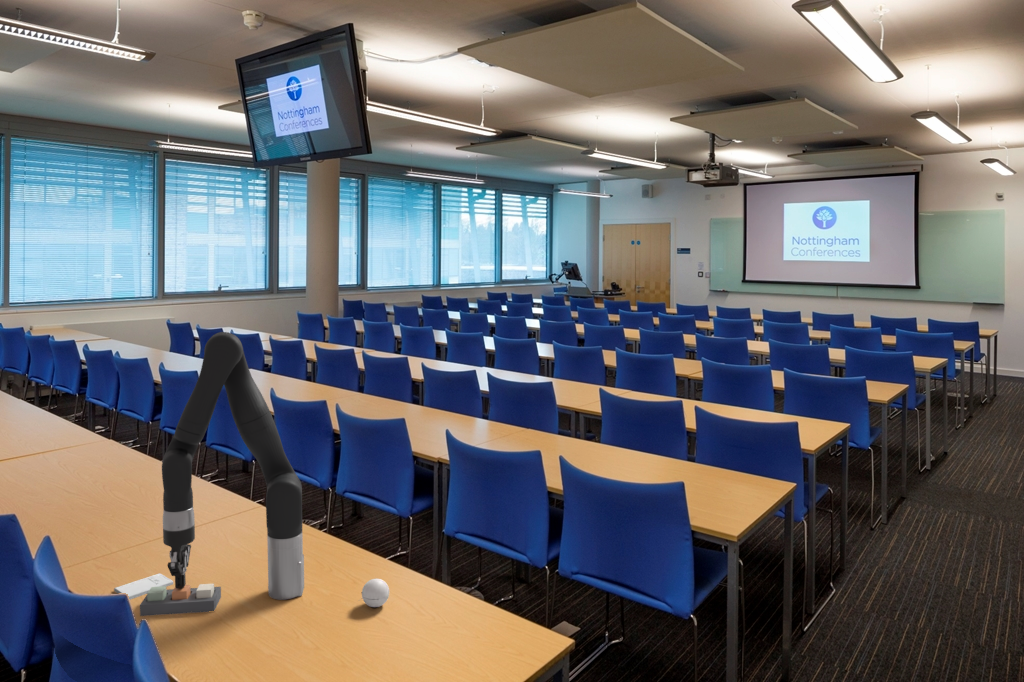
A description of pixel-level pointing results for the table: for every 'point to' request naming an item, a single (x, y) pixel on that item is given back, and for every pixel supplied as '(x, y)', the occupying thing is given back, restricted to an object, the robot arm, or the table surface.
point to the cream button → (205, 591)
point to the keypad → (180, 604)
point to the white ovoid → (375, 592)
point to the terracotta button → (181, 593)
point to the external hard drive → (143, 585)
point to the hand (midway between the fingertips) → (180, 587)
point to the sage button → (157, 593)
